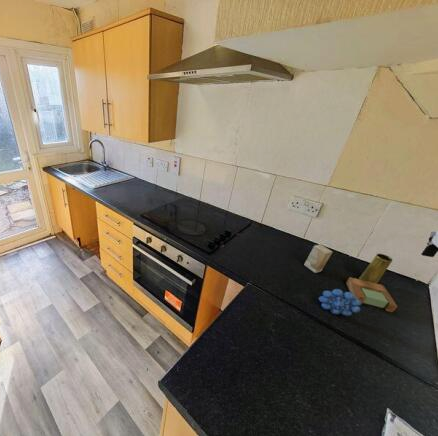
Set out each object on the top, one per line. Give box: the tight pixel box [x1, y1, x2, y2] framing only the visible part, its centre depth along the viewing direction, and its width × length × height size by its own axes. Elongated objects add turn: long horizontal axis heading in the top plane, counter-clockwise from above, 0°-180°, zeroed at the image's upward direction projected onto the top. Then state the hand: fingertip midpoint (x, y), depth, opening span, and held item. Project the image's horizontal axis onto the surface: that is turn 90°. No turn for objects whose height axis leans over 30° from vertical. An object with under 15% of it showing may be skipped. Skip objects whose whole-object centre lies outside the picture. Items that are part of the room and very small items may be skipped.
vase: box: [358, 253, 393, 284], centre depth 99 cm, size 6×6×14 cm
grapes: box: [318, 288, 363, 317], centre depth 85 cm, size 12×7×12 cm, turn 46°
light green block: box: [361, 288, 388, 309], centre depth 92 cm, size 7×5×4 cm
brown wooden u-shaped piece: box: [345, 276, 398, 313], centre depth 94 cm, size 12×12×4 cm
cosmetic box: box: [303, 243, 333, 274], centre depth 107 cm, size 6×4×12 cm
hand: (435, 263), depth 79 cm, fingers open, 9 cm apart
